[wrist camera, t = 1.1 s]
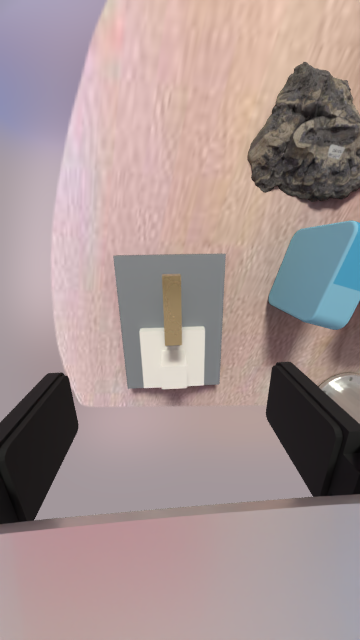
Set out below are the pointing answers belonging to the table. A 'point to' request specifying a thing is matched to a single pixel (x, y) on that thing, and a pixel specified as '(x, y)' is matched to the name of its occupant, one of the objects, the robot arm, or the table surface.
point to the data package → (320, 275)
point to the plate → (147, 304)
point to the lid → (172, 358)
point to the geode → (309, 139)
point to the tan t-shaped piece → (172, 309)
